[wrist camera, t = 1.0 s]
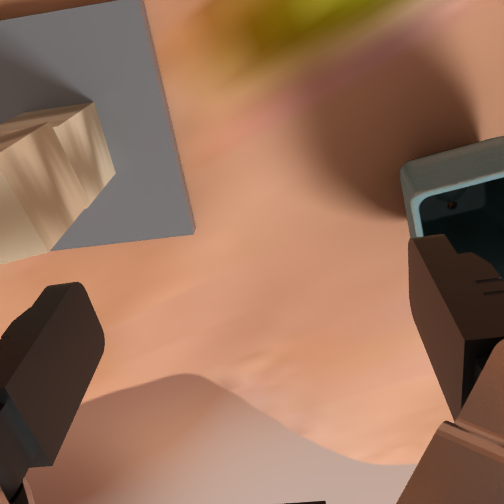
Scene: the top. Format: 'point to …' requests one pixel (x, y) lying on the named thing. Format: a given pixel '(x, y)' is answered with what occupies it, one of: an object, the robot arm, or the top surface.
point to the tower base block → (74, 141)
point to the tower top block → (35, 193)
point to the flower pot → (459, 198)
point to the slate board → (103, 113)
